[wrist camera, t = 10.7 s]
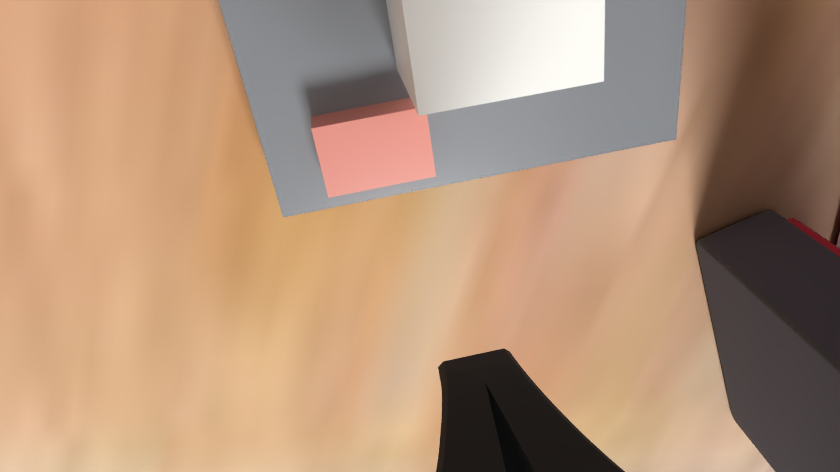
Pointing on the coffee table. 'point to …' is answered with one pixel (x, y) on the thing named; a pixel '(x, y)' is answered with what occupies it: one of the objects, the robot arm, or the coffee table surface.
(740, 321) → the dark grey red box
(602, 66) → the white rectangular box
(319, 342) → the coffee table surface
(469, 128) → the socket
